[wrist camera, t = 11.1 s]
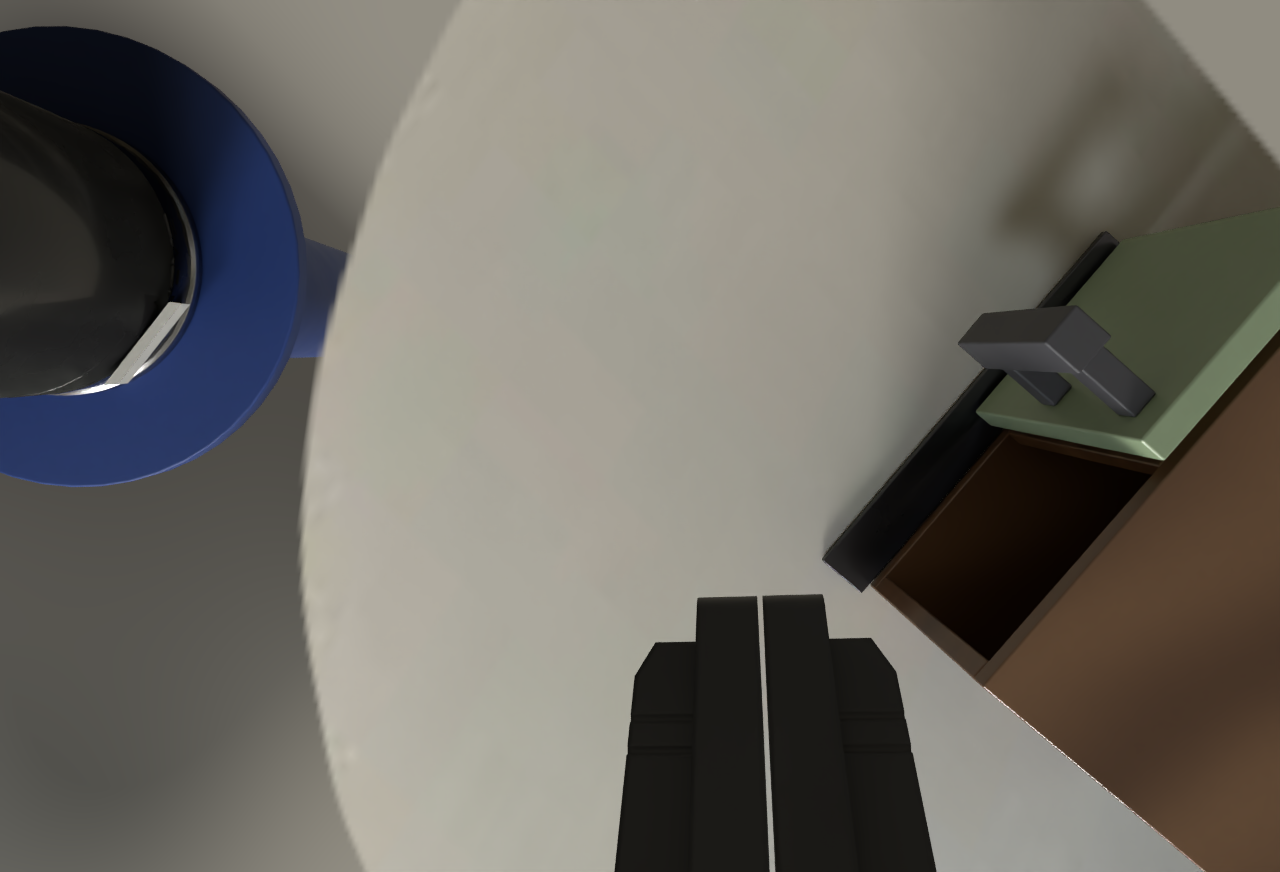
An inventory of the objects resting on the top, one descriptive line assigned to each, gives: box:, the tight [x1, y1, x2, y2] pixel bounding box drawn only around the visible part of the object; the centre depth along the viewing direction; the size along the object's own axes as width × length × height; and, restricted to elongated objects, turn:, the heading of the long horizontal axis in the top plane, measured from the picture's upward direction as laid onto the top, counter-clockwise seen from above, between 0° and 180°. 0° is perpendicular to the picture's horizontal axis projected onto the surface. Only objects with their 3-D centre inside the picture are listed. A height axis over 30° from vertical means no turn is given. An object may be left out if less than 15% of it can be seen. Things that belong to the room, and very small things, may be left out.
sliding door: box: [958, 207, 1280, 460], centre depth 27 cm, size 4×8×10 cm, turn 140°
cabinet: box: [822, 231, 1280, 872], centre depth 28 cm, size 13×15×10 cm
